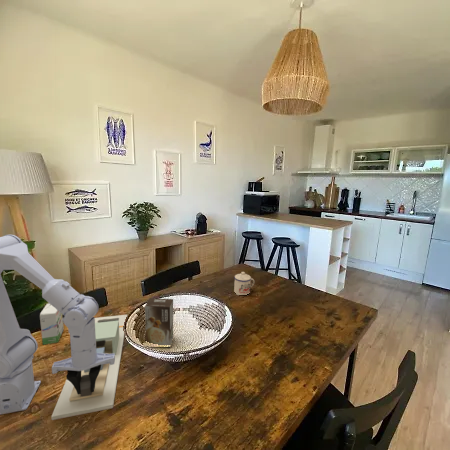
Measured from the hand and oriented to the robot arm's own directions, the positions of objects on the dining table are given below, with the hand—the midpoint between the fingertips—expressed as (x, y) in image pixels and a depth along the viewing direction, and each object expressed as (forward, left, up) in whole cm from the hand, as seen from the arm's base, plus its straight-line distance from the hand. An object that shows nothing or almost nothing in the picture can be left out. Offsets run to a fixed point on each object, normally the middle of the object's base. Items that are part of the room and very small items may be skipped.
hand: (86, 390), depth 69 cm
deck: (+19, 0, -3) cm, 19 cm away
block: (+11, 0, -1) cm, 11 cm away
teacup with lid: (+55, -66, -3) cm, 86 cm away
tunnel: (+21, 0, -3) cm, 21 cm away
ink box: (+33, +18, -3) cm, 38 cm away
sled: (+11, 0, -2) cm, 11 cm away
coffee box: (+21, -20, -3) cm, 29 cm away
